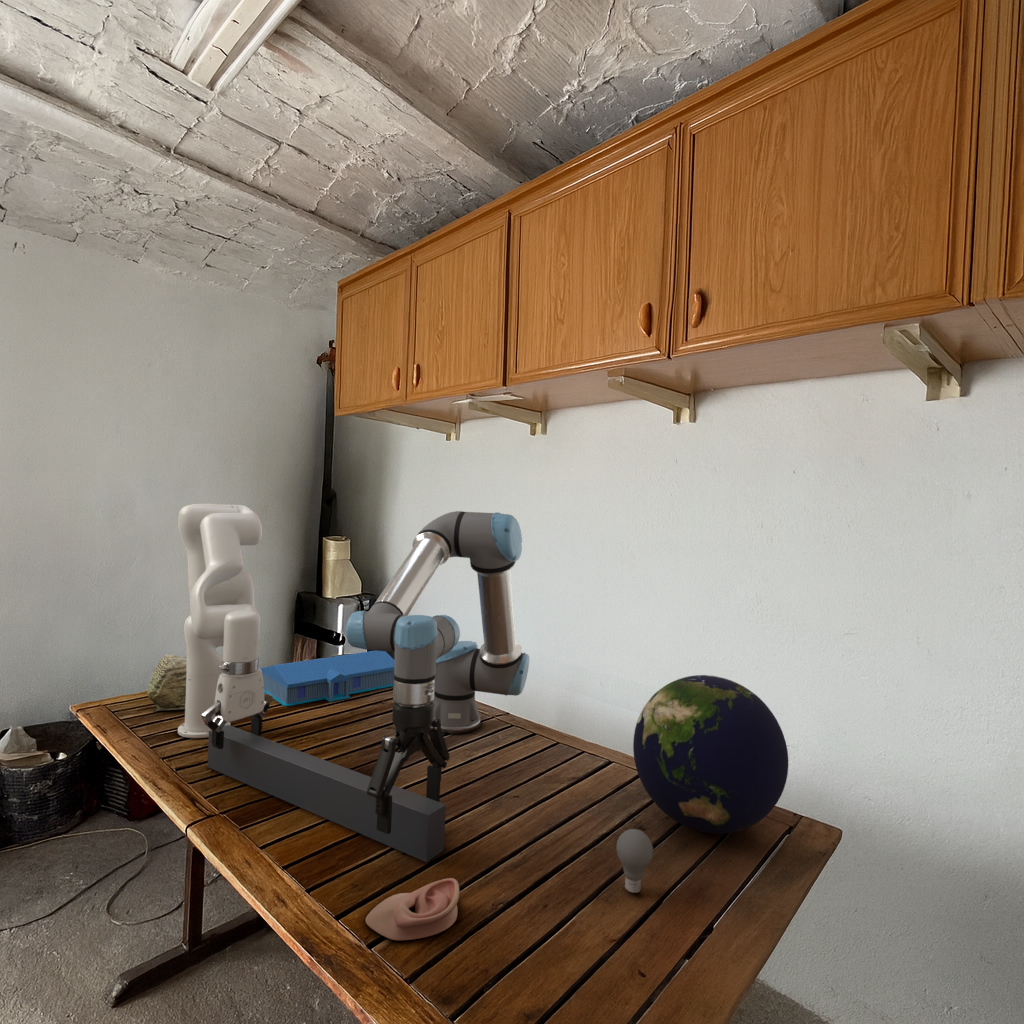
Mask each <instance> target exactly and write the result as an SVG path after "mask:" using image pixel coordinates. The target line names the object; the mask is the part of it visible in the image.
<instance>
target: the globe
mask: <svg viewBox="0 0 1024 1024" xmlns="http://www.w3.org/2000/svg"><path fill="white" fill-rule="evenodd" d="M632 742H633V743H632V744H633V747H632V750H633V759H634V764H635V768H636V771H637V775H638V778H639V780H640V783H641V784H642V786H643V787H644V790H645V791H646V794H648V796H649V798H650V799H651V800H652V802H653V803H654V804H655V805H656V806H657V808H658V809H660V810H661V811H662V812H663V813H664V814H665V815H667V816H668V817H669V818H670V819H672V820H674V821H675V822H676V823H678V824H680V825H682V826H684V827H686V828H689V829H691V830H694V831H698V832H701V833H705V834H714V835H723V834H731V833H732V834H733V833H737V832H740V831H744V830H746V829H748V828H750V827H753V826H754V825H756V824H758V823H759V822H760V821H762V820H763V819H764V818H765V817H766V816H768V815H769V813H771V811H772V810H773V809H774V807H775V806H776V805H777V804H778V802H779V800H780V798H781V797H782V794H783V792H784V790H785V787H786V785H787V784H786V783H787V779H788V775H789V752H788V746H787V742H786V738H785V734H784V732H783V729H782V728H781V725H780V723H779V722H778V719H777V718H776V717H775V715H774V713H773V712H772V710H771V709H770V708H769V706H768V705H767V704H766V703H765V702H764V701H763V700H762V699H761V698H760V697H759V696H758V695H757V694H756V693H754V692H753V691H751V689H748V688H747V687H746V686H744V685H742V684H740V683H738V682H736V681H733V680H732V679H728V678H725V677H720V676H719V675H718V676H717V675H711V674H699V675H696V674H695V675H689V676H685V677H681V678H677V679H675V680H673V681H671V682H669V683H667V684H666V685H664V686H662V687H661V688H659V689H658V690H657V691H656V692H655V693H653V695H652V696H651V697H650V698H649V699H648V701H646V703H645V704H644V706H643V708H642V710H641V712H640V713H639V715H638V717H637V720H636V724H635V727H634V733H633V741H632Z"/></svg>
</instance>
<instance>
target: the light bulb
mask: <svg viewBox="0 0 1024 1024" xmlns="http://www.w3.org/2000/svg"><path fill="white" fill-rule="evenodd" d="M615 849H616V854H617V857H618V859H619V861H620V863H621V865H622V867H623V873H624V874H623V875H624V876H625V878H624V888H625V890H627V891H628V892H630V893H634V894H635V893H639V892H640V891H641V889H642V887H641V886H642V879H643V877H644V875H645V871H646V868H647V867H648V866H649V864H650V863H651V861H652V859H653V855H654V847H653V843H652V841H651V838H649V836H648V835H647V834H646V833H645V832H643V831H642V830H641V829H636V828H629V829H627V830H625V831H623V832H622V833H621V834H620V835H619V837H618V839H617V841H616V847H615Z"/></svg>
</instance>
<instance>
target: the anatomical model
mask: <svg viewBox="0 0 1024 1024" xmlns="http://www.w3.org/2000/svg"><path fill="white" fill-rule="evenodd" d="M459 898H460V885H459V882H458V880H457V879H455V878H453V877H448V878H442V879H438V880H436V881H433V882H430V883H428V884H426V885H424V886H422V887H419V888H417V889H416V890H413V891H412V892H400V893H397V894H396V893H395V894H393V895H391V896H389V897H387V898H385V899H384V900H382V901H381V902H380V903H378V904H377V905H376V906H375V907H373V908H372V909H371V910H370V912H369V913H368V914H367V915H366V917H365V923H366V925H367V926H368V927H369V928H370V929H371V930H373V931H374V932H376V933H377V934H378V935H380V936H383V937H384V938H387V939H389V940H391V941H399V942H400V941H409V940H416V939H422V938H428V937H431V936H435V935H438V934H440V933H442V932H444V931H446V930H447V929H449V928H451V927H452V926H453V925H454V924H455V922H456V920H457V917H458V909H459V908H458V902H459Z"/></svg>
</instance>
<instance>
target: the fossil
mask: <svg viewBox="0 0 1024 1024" xmlns="http://www.w3.org/2000/svg"><path fill="white" fill-rule="evenodd" d="M186 668H187V656H183V657H182V656H178V655H175V654H174V655H173V654H165V655H164V656H163V657H162V658H161V659H160V660H159V662H158V663H157V666H156V667H155V669H154V670H153V672H152V675H151V677H150V680H149V684H148V688H147V697H148V699H149V700H150V701H152V703H153V704H154V706H155V711H158V712H159V711H162V712H163V711H177V710H185V701H186Z"/></svg>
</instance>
